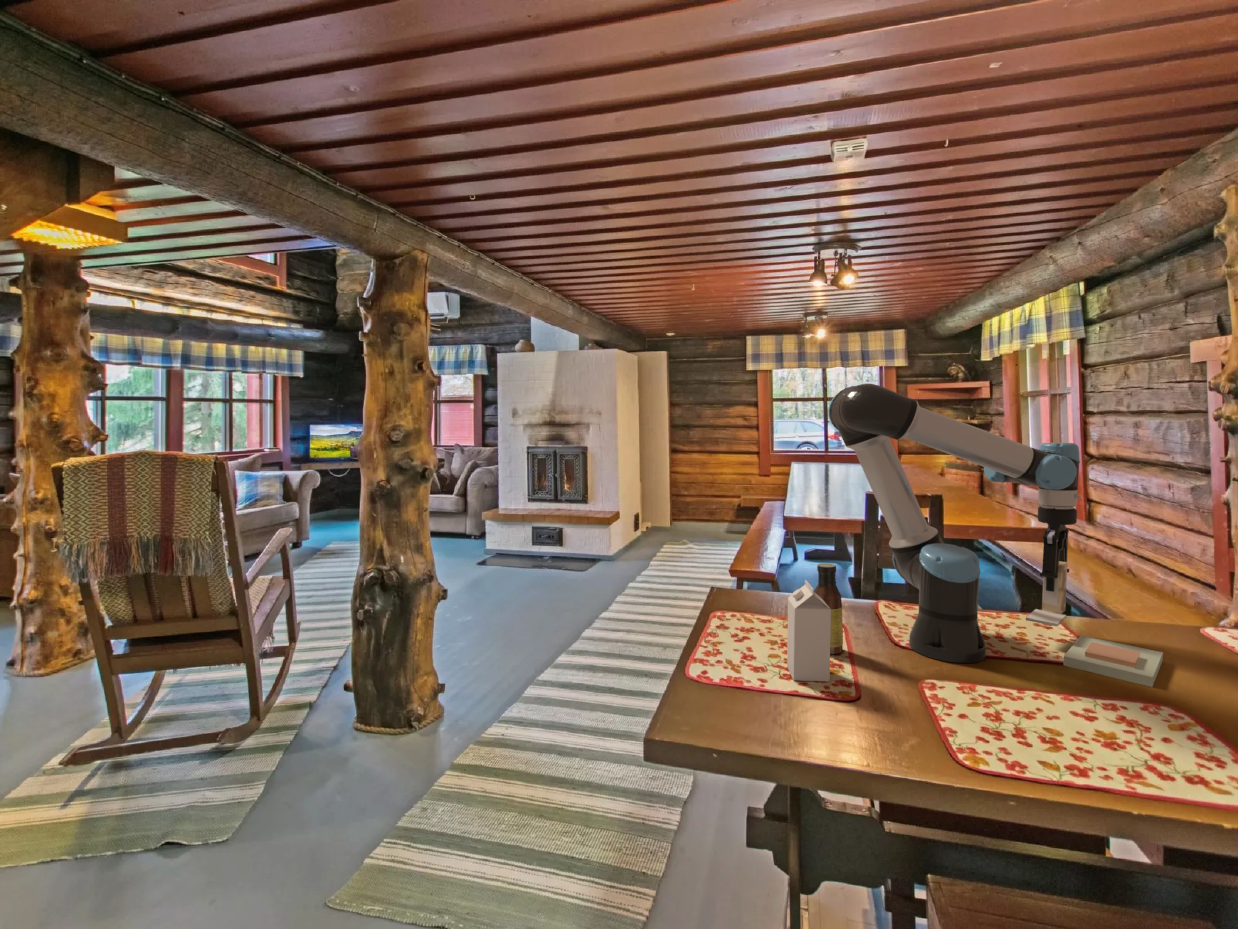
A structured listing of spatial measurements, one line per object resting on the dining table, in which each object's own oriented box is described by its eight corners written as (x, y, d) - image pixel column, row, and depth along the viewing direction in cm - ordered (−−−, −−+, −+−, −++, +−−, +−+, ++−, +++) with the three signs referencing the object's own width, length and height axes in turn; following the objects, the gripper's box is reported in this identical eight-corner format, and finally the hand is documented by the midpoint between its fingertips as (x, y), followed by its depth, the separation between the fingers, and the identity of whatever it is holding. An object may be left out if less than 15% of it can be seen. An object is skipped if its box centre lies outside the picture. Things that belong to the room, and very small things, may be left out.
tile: (1084, 651, 122) (1084, 657, 122) (1135, 663, 116) (1135, 668, 116) (1091, 641, 127) (1091, 647, 127) (1140, 652, 121) (1139, 657, 122)
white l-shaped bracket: (1041, 605, 144) (1043, 558, 143) (1071, 611, 140) (1073, 562, 139) (1025, 620, 134) (1027, 569, 133) (1057, 626, 130) (1059, 574, 129)
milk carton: (820, 667, 122) (822, 580, 121) (829, 682, 115) (831, 589, 114) (786, 666, 123) (788, 579, 122) (793, 681, 116) (794, 588, 115)
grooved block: (1080, 643, 135) (1081, 635, 135) (1162, 661, 124) (1163, 652, 124) (1063, 665, 123) (1063, 656, 123) (1152, 687, 112) (1152, 677, 112)
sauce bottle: (845, 648, 133) (847, 563, 131) (839, 658, 127) (841, 569, 126) (816, 643, 136) (817, 560, 135) (809, 651, 131) (810, 566, 129)
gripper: (1068, 512, 129) (1064, 613, 131) (1085, 504, 142) (1081, 596, 144) (1028, 509, 135) (1024, 606, 136) (1047, 501, 148) (1044, 589, 149)
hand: (1053, 600), depth 140 cm, fingers closed on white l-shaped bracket, 6 cm apart
